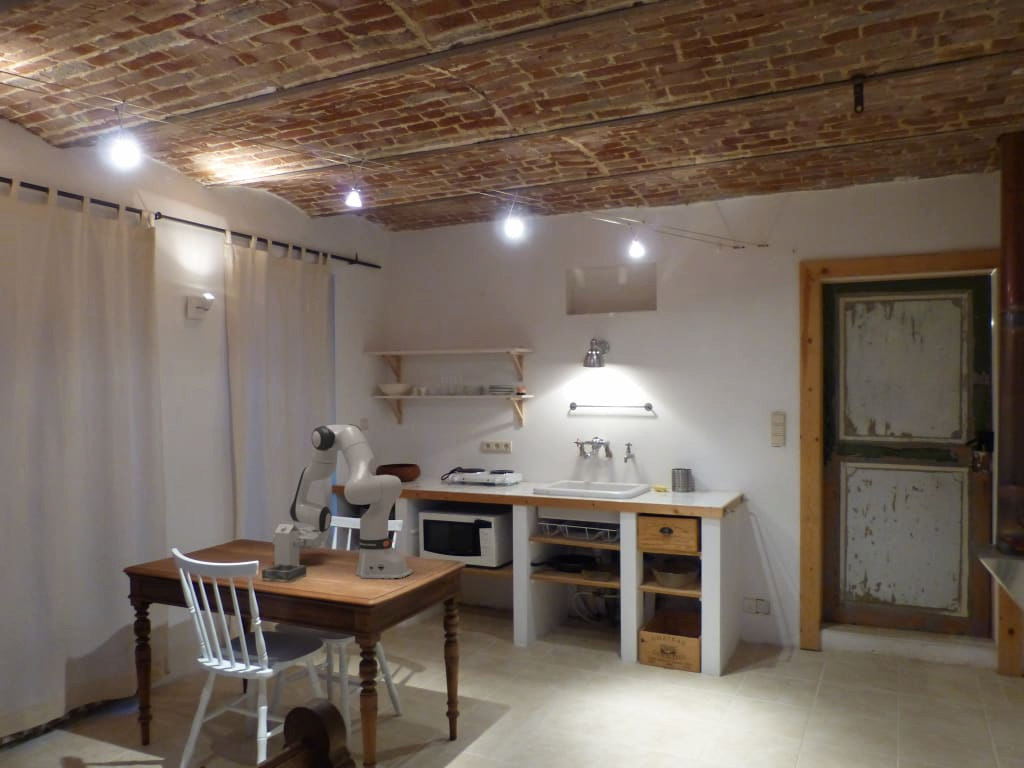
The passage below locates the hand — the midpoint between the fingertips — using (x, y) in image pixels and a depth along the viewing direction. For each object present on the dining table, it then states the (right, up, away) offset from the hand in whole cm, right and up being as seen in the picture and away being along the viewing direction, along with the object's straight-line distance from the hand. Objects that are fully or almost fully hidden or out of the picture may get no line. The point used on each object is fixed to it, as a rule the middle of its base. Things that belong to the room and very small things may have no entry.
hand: (285, 543), depth 317 cm
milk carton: (0, -10, +1) cm, 10 cm away
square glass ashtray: (+5, -10, -19) cm, 21 cm away
